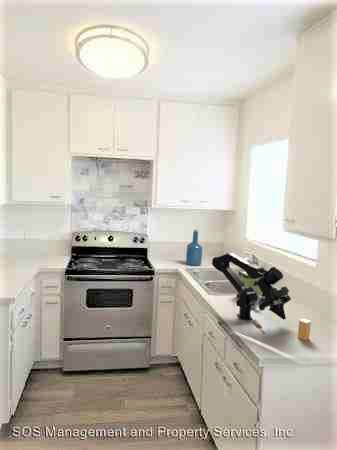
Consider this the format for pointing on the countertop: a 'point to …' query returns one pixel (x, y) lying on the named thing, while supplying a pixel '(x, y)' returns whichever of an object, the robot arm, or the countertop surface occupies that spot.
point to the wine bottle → (194, 251)
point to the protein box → (250, 284)
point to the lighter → (257, 302)
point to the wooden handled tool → (257, 325)
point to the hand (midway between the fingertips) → (284, 319)
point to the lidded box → (304, 329)
